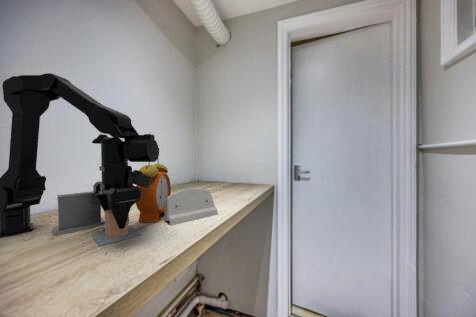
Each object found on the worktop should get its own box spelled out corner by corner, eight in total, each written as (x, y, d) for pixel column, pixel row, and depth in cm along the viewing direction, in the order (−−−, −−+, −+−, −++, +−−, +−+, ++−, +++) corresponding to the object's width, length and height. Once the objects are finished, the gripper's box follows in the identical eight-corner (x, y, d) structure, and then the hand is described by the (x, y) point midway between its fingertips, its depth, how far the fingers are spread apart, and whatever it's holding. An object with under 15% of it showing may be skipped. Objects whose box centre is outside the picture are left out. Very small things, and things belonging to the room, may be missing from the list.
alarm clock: (155, 223, 58) (154, 155, 58) (134, 223, 58) (133, 155, 58) (171, 210, 71) (171, 155, 71) (154, 210, 72) (154, 155, 71)
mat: (91, 235, 50) (91, 234, 50) (129, 225, 57) (129, 225, 57) (99, 246, 44) (99, 245, 44) (141, 234, 50) (141, 233, 50)
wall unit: (53, 230, 53) (52, 195, 53) (101, 220, 61) (101, 189, 61) (54, 236, 50) (53, 198, 50) (106, 224, 58) (105, 191, 57)
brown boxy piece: (105, 234, 50) (104, 205, 50) (122, 229, 53) (122, 202, 53) (109, 238, 47) (108, 208, 47) (127, 233, 50) (127, 205, 50)
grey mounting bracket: (169, 225, 57) (165, 191, 59) (164, 226, 60) (160, 194, 63) (219, 214, 67) (213, 185, 69) (212, 215, 70) (207, 188, 73)
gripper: (163, 162, 49) (163, 224, 50) (135, 160, 62) (136, 210, 63) (111, 163, 41) (112, 238, 42) (92, 161, 54) (93, 218, 55)
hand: (116, 223), depth 50 cm, fingers open, 9 cm apart
